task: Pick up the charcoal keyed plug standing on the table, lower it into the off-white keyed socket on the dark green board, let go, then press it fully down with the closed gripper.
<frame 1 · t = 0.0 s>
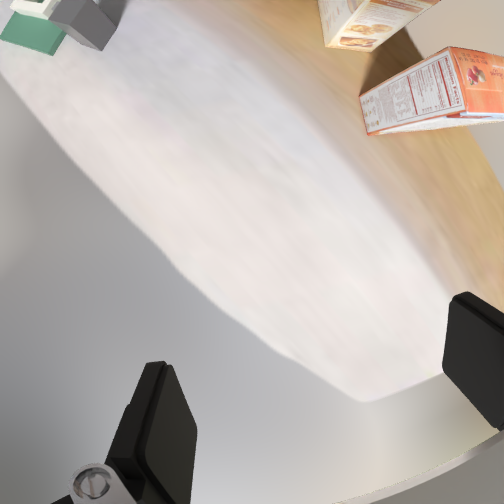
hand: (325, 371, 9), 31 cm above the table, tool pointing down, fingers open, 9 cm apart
coffeecake box: (340, 7, 32), on the table
cracker box: (404, 111, 37), on the table
plug: (99, 36, 32), on the table
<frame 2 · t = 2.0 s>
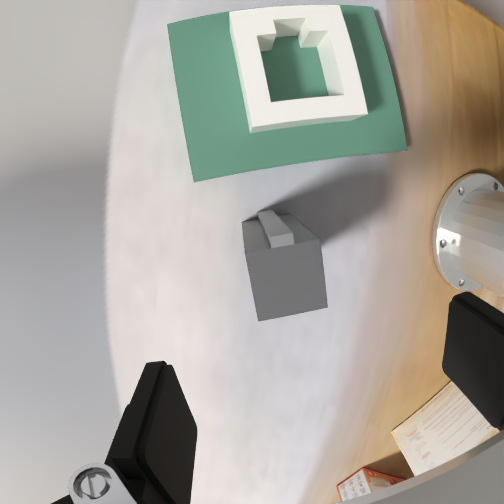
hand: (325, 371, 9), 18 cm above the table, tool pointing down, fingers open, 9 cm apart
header: (295, 65, 20), on the board, point 3 cm above the table
coffeecake box: (440, 404, 34), on the table
cracker box: (374, 481, 38), on the table
plug: (269, 241, 27), on the table
board: (289, 82, 23), on the table
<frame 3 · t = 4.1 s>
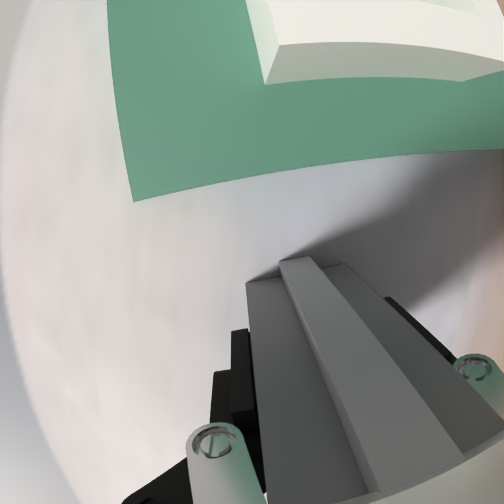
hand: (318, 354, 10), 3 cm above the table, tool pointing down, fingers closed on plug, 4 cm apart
plug: (302, 318, 13), on the table, touching gripper
board: (339, 1, 10), on the table
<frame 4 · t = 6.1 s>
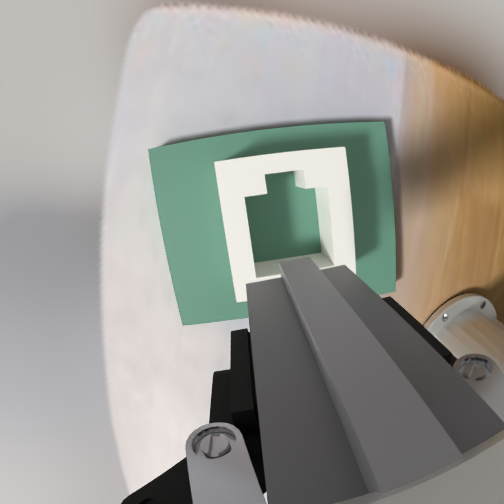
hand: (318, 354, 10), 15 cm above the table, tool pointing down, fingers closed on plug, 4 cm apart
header: (286, 221, 21), on the board, point 3 cm above the table
plug: (302, 319, 13), point 13 cm above the table, touching gripper
board: (281, 220, 25), on the table
when the fingers open (6 cm above the table, at t = 8.0 s): plug drops 1 cm, resting on board.
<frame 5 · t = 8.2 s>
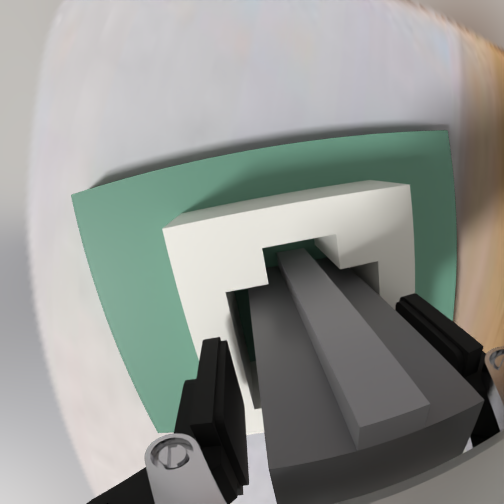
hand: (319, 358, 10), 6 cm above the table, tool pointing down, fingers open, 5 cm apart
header: (302, 312, 12), on the board, point 3 cm above the table
plug: (296, 305, 14), point 1 cm above the table, touching board
board: (290, 292, 16), on the table
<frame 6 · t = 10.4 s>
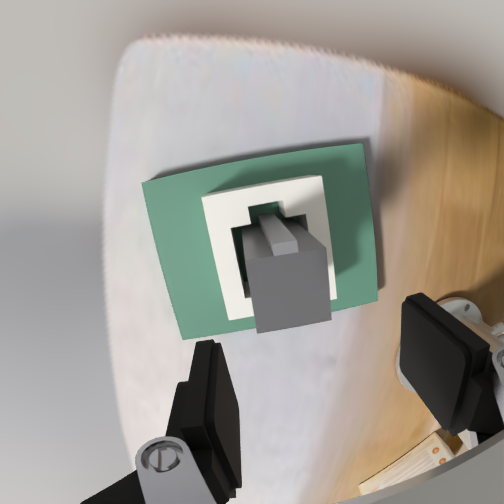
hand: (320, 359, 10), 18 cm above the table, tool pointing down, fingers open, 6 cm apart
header: (271, 245, 24), on the board, point 3 cm above the table
coffeecake box: (403, 464, 37), on the table
plug: (269, 245, 25), point 1 cm above the table, touching board
board: (267, 241, 27), on the table
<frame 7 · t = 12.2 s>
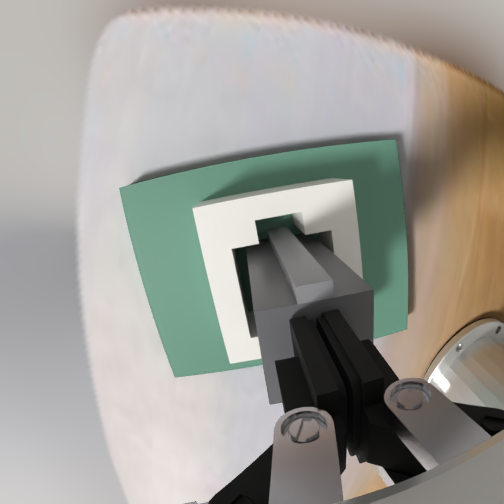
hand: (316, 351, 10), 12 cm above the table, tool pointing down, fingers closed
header: (284, 268, 18), on the board, point 3 cm above the table
plug: (281, 267, 20), point 1 cm above the table, touching board, gripper
board: (278, 260, 21), on the table
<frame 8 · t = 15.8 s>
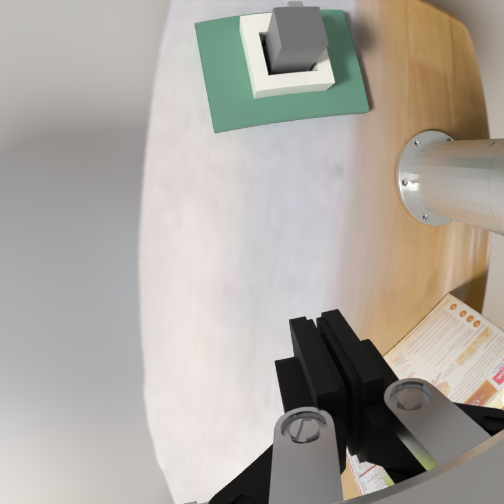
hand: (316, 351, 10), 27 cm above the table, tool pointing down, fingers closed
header: (285, 52, 29), on the board, point 3 cm above the table
coffeecake box: (422, 338, 42), on the table
cracker box: (369, 421, 46), on the table
plug: (283, 61, 30), point 1 cm above the table, touching board
board: (281, 65, 32), on the table
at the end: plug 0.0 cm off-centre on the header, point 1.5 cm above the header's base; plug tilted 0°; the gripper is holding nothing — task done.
